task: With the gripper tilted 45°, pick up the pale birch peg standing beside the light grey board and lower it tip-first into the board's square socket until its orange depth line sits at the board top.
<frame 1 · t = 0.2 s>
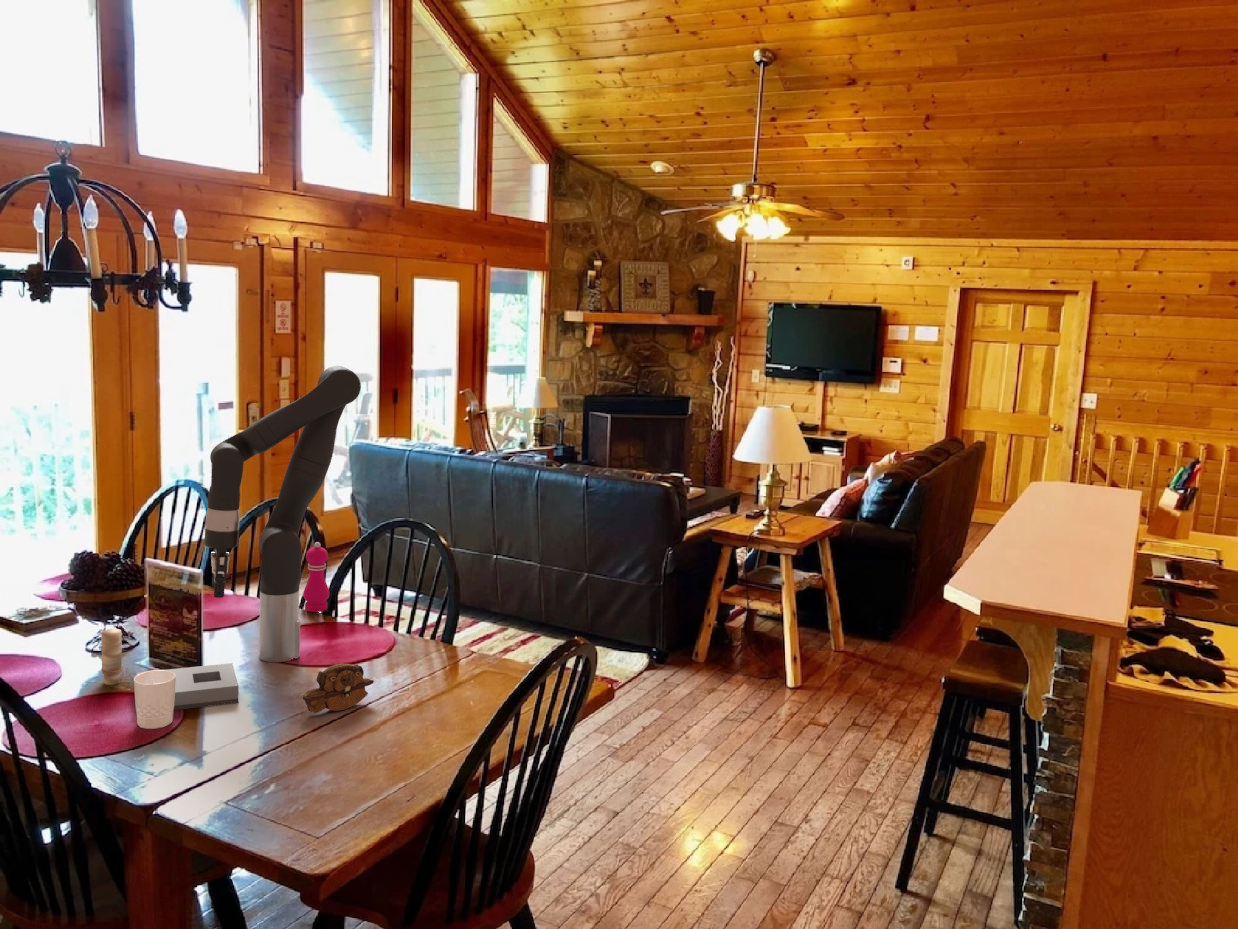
hand: (217, 592, 231), 18 cm above the table, tool pointing down, fingers open, 8 cm apart
wooden carving: (339, 710, 213), on the table
birch peg: (112, 682, 219), on the table
pepper mill: (316, 609, 278), on the table
socket board: (187, 696, 214), on the table
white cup: (155, 723, 201), on the table
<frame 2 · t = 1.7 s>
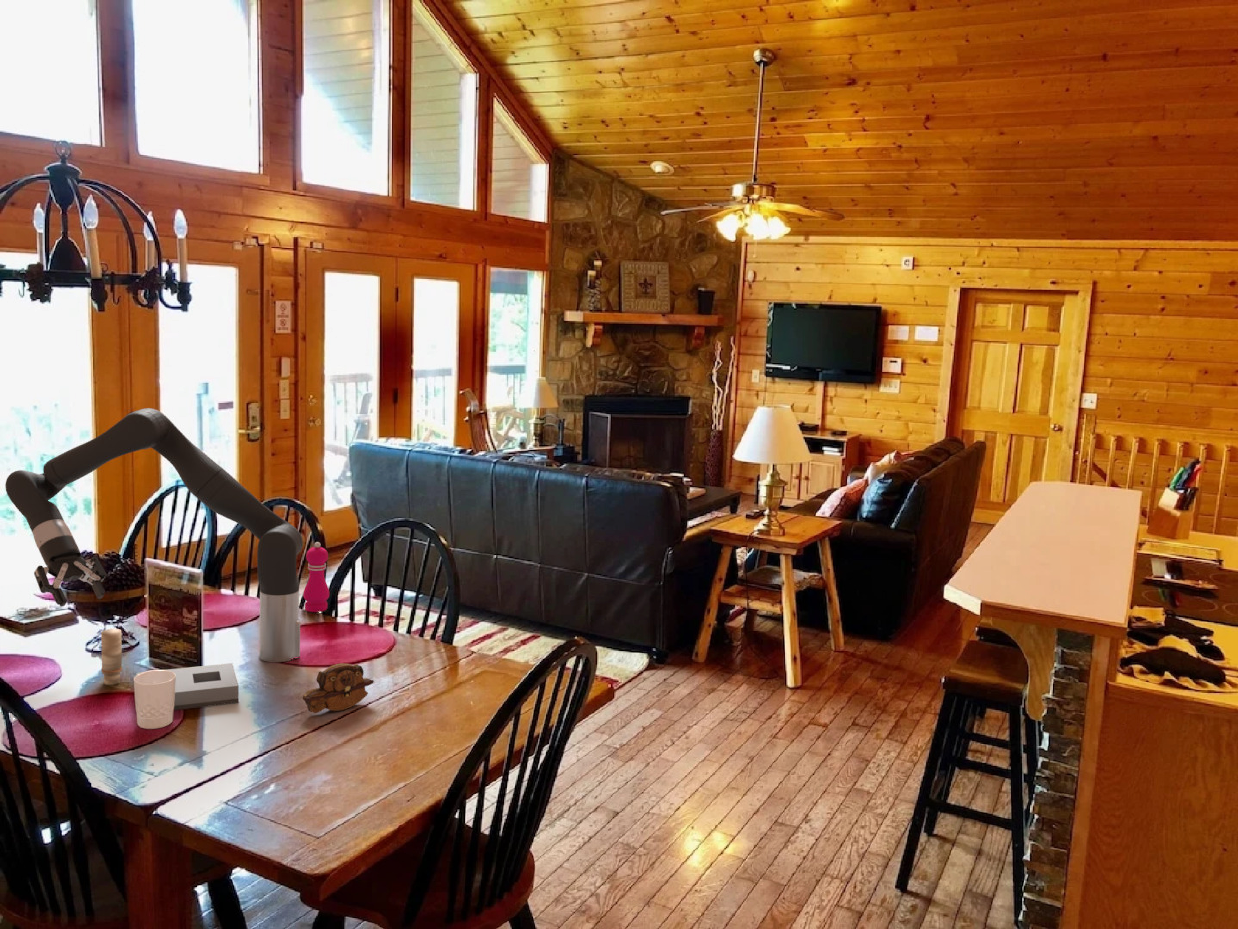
hand: (82, 600, 222), 17 cm above the table, tool tilted 45°, fingers open, 8 cm apart
nothing on the table moved.
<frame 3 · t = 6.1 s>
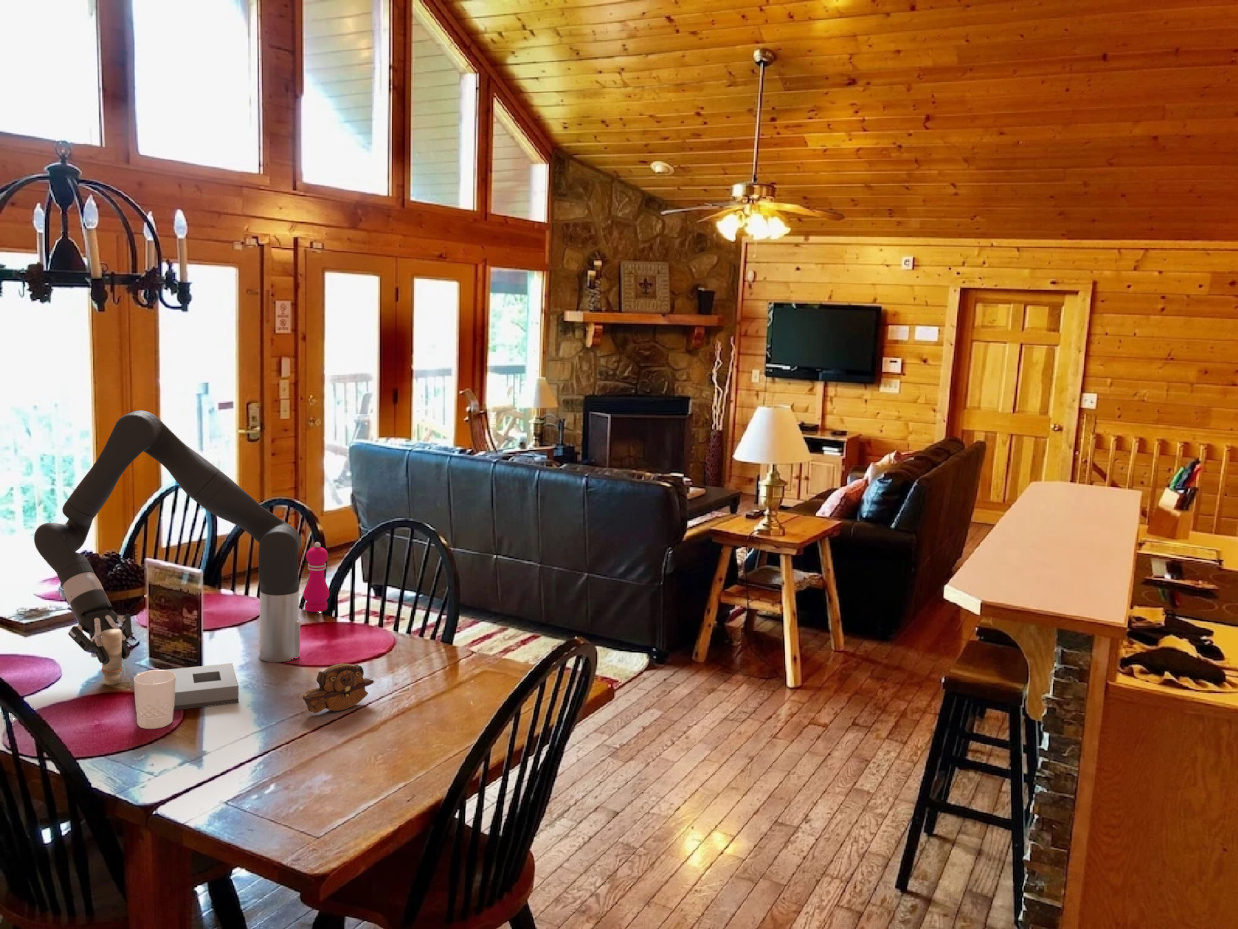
hand: (116, 659, 217), 6 cm above the table, tool tilted 45°, fingers closed on birch peg, 4 cm apart
birch peg: (112, 682, 219), on the table, touching gripper
everything else where it was.
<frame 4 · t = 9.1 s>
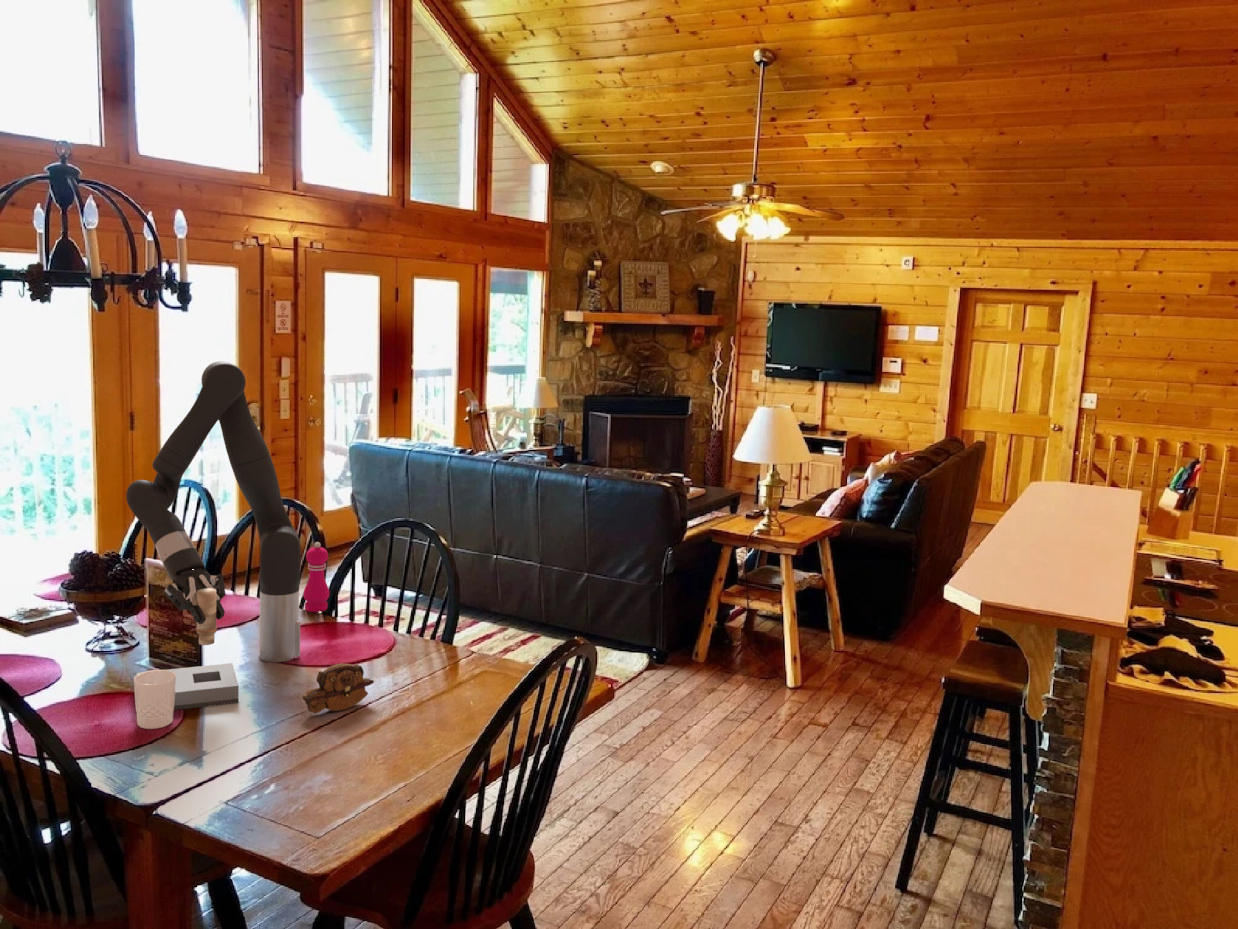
hand: (212, 619, 212), 18 cm above the table, tool tilted 45°, fingers closed on birch peg, 4 cm apart
birch peg: (206, 642, 214), point 12 cm above the table, touching gripper
everything else where it was.
when the fingers open (9 cm above the table, at t = 12.4 s): birch peg drops 2 cm, resting on socket board.
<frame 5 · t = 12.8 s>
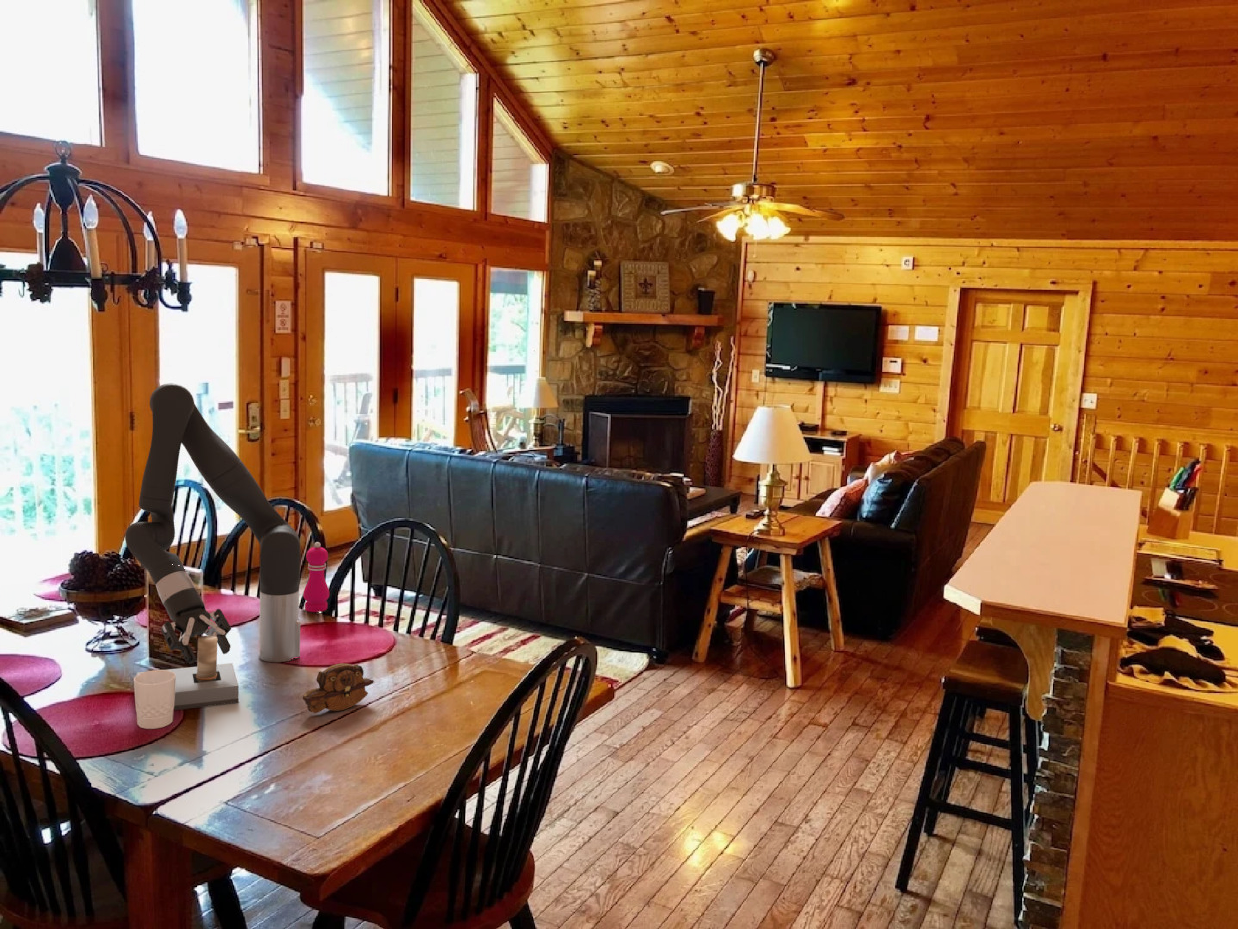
hand: (210, 656, 214), 9 cm above the table, tool tilted 45°, fingers open, 8 cm apart
birch peg: (206, 689, 216), point 1 cm above the table, touching socket board
everything else where it was.
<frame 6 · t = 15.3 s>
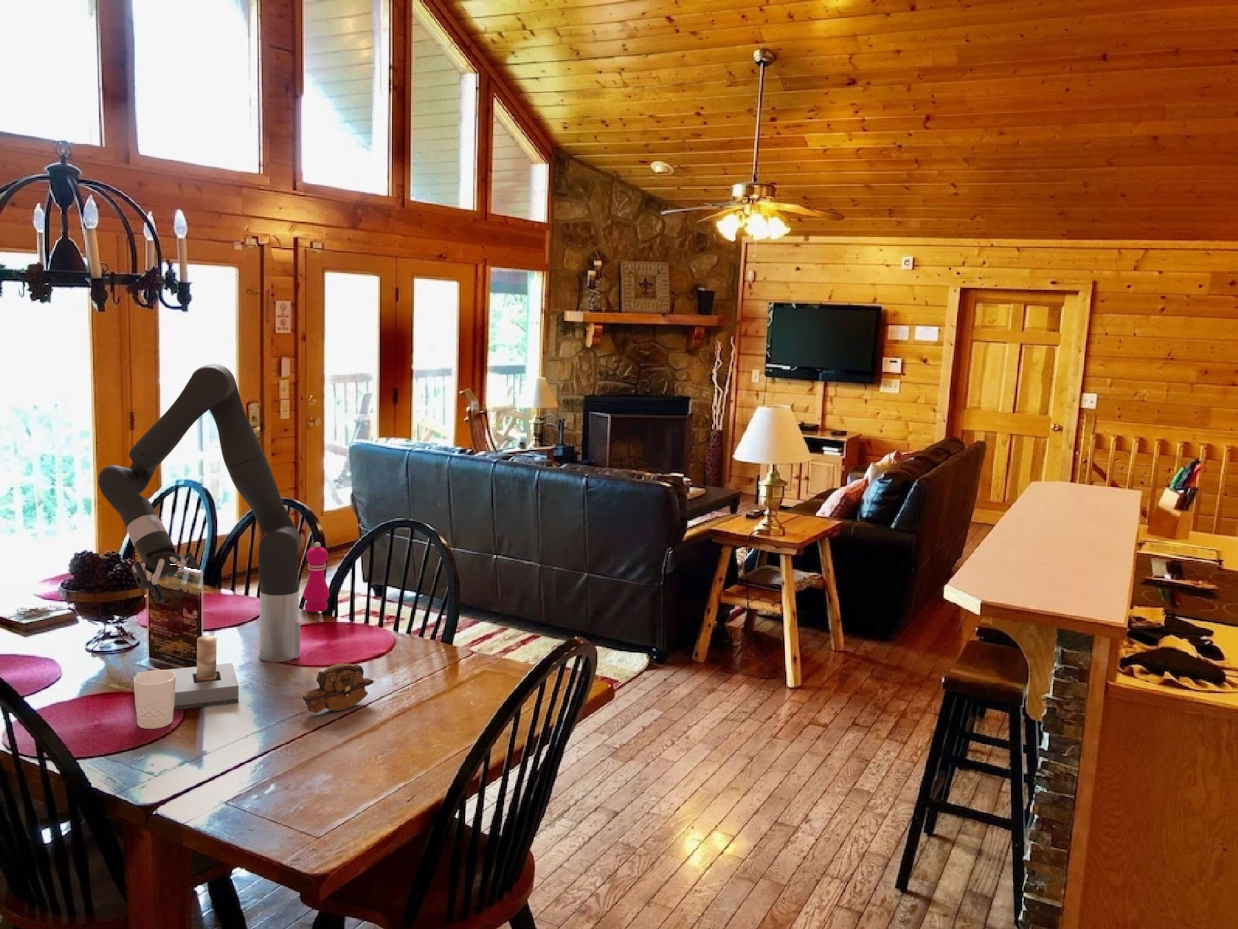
hand: (180, 597, 218), 20 cm above the table, tool tilted 45°, fingers open, 8 cm apart
nothing on the table moved.
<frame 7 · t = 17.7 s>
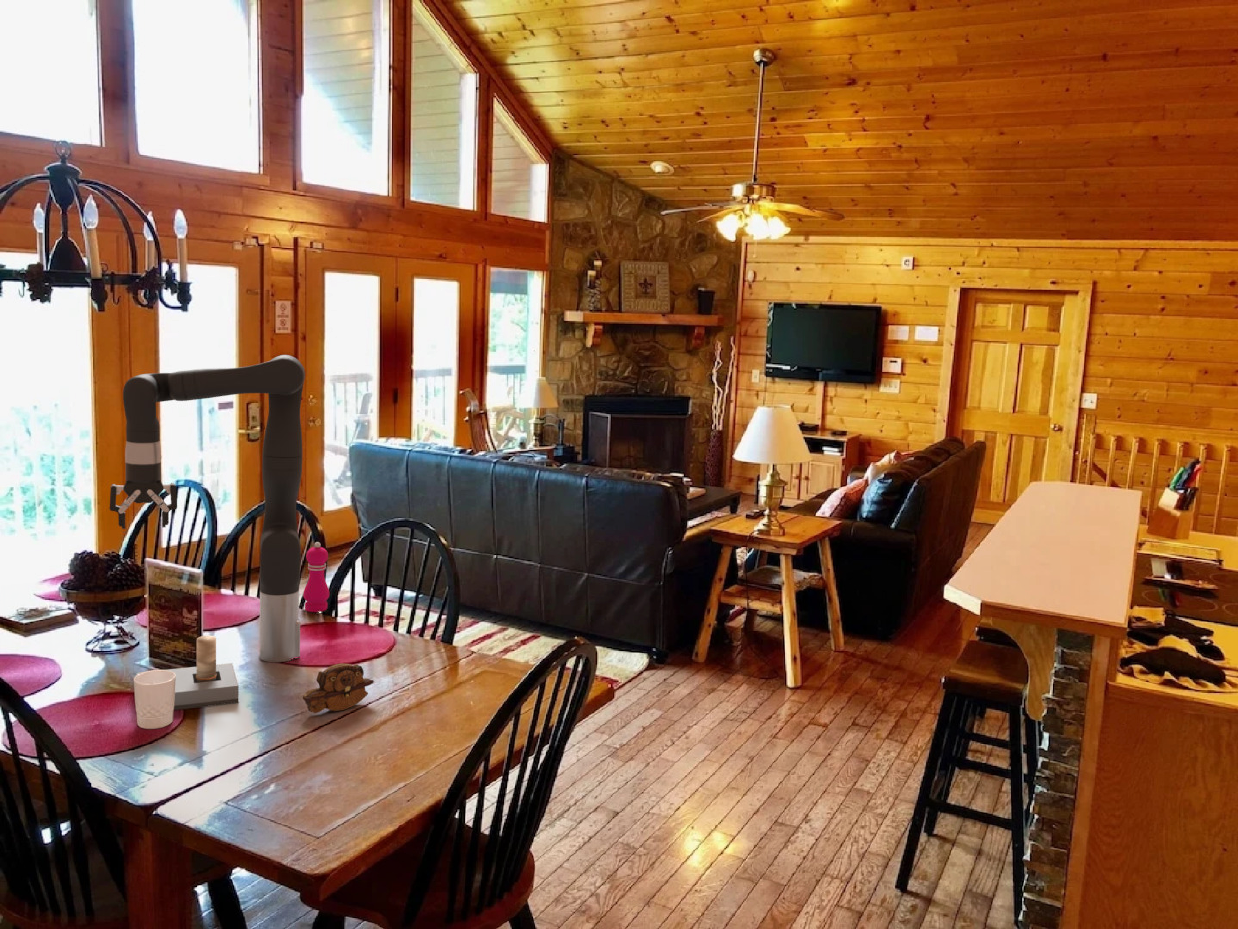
hand: (144, 527, 227), 33 cm above the table, tool pointing down, fingers open, 8 cm apart
nothing on the table moved.
at the end: birch peg 0.1 cm from the target spot on the socket board, point 1.0 cm above the socket board's base; birch peg tilted 1°; the gripper is holding nothing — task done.
